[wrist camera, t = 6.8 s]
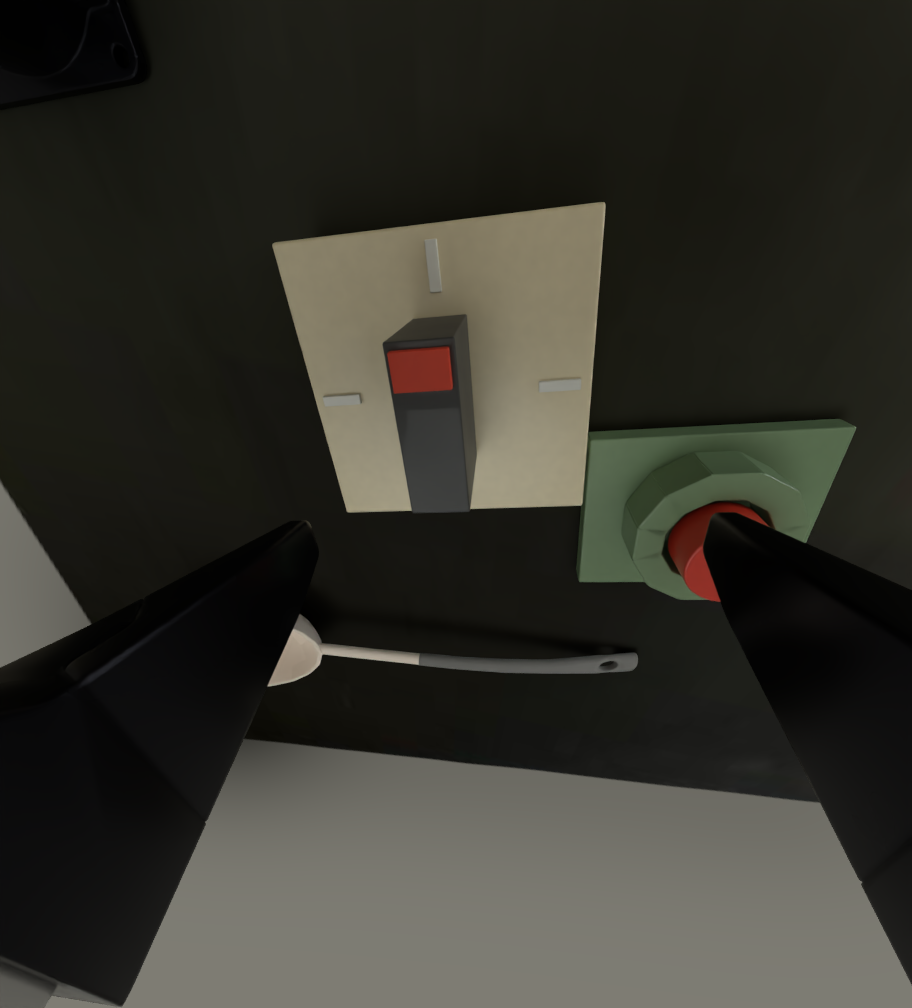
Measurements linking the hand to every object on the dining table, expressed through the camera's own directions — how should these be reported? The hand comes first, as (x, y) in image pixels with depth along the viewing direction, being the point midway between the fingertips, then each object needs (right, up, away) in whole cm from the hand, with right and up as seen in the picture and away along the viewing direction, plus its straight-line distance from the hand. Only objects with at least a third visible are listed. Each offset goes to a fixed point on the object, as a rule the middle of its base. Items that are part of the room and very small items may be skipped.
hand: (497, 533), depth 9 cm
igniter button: (+10, -1, +8) cm, 13 cm away
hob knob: (-1, +5, +5) cm, 7 cm away
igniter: (+10, +1, +10) cm, 14 cm away
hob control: (-1, +6, +8) cm, 10 cm away
